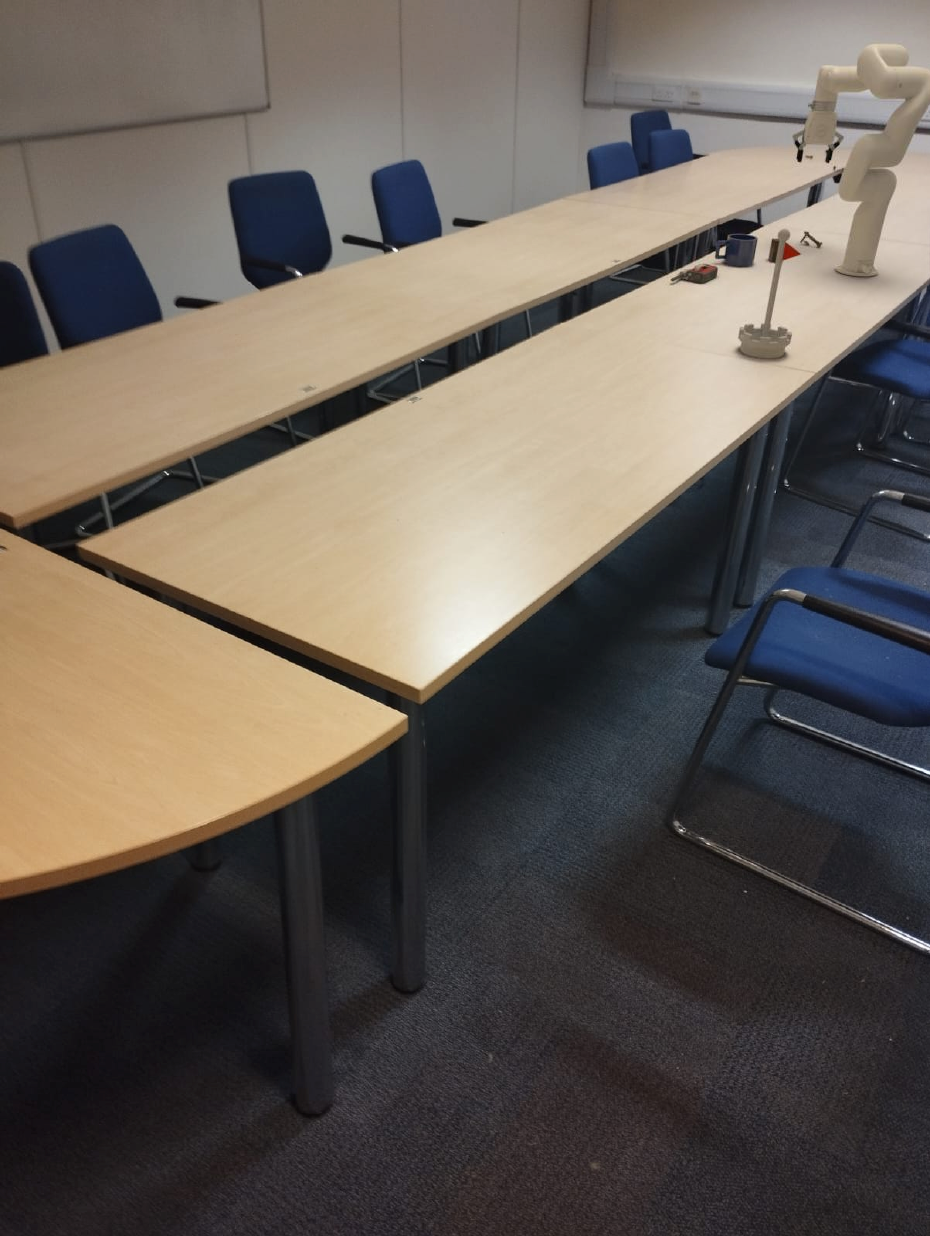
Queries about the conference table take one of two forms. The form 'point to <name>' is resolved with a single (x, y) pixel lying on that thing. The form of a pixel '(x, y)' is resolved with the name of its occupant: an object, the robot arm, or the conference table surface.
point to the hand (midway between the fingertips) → (813, 162)
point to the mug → (738, 250)
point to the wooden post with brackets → (810, 239)
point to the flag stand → (769, 315)
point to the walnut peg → (773, 250)
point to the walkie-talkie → (698, 273)
